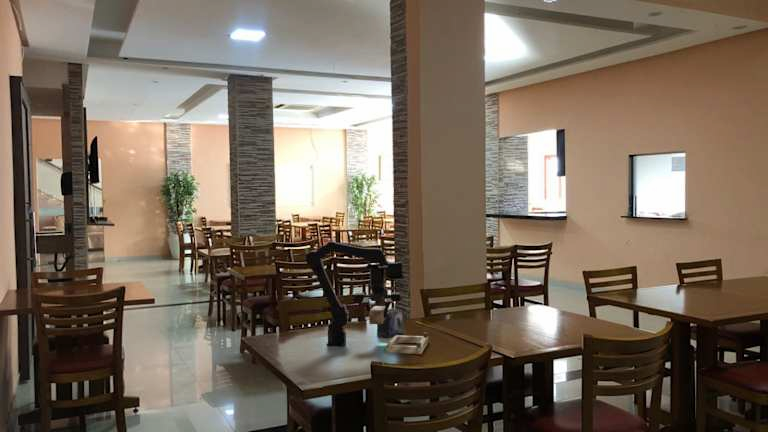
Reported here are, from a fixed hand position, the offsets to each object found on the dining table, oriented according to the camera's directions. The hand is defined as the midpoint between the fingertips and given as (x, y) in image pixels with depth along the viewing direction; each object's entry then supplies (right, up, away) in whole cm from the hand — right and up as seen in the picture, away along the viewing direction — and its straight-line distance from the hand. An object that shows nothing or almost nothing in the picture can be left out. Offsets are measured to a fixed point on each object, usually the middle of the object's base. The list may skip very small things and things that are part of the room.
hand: (378, 318), depth 248 cm
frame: (0, -1, 0) cm, 1 cm away
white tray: (+11, -10, -7) cm, 17 cm away
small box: (+5, -10, +15) cm, 19 cm away
